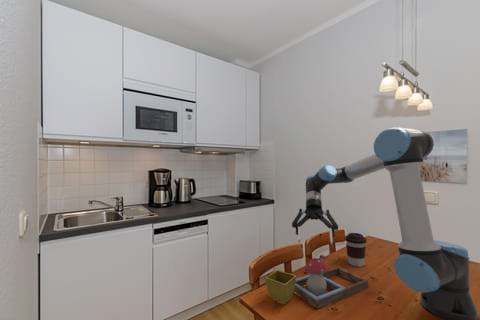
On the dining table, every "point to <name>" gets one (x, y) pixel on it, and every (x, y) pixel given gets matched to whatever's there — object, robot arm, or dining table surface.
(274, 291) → the flower pot
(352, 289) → the gray organizer
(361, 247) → the coffee cup
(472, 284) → the dining table surface
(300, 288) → the slate-blue rim
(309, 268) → the decorative ornament
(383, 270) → the dining table surface
